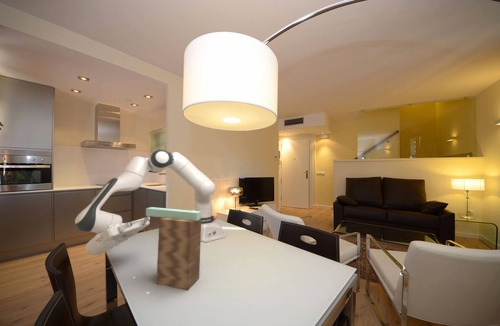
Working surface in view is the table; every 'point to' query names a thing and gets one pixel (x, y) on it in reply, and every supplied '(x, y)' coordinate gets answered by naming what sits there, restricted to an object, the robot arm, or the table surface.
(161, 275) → the walnut stand
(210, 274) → the table surface
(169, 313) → the table surface
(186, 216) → the mint green bar
